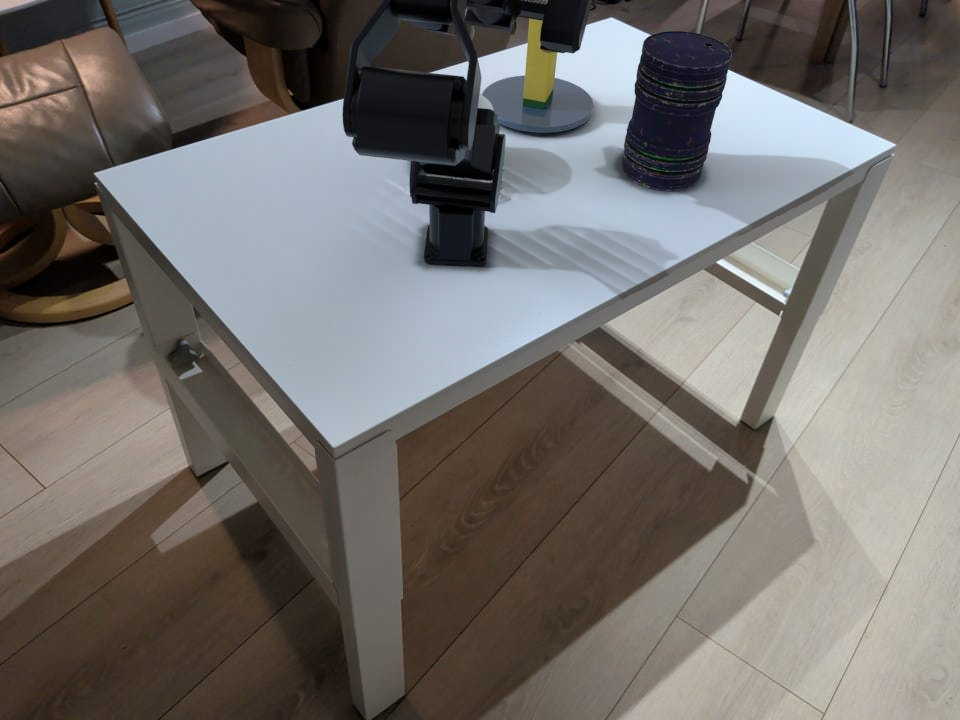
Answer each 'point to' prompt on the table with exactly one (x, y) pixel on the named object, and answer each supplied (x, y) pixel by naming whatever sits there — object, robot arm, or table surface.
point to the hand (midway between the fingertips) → (510, 41)
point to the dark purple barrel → (674, 109)
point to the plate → (560, 113)
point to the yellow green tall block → (538, 70)
